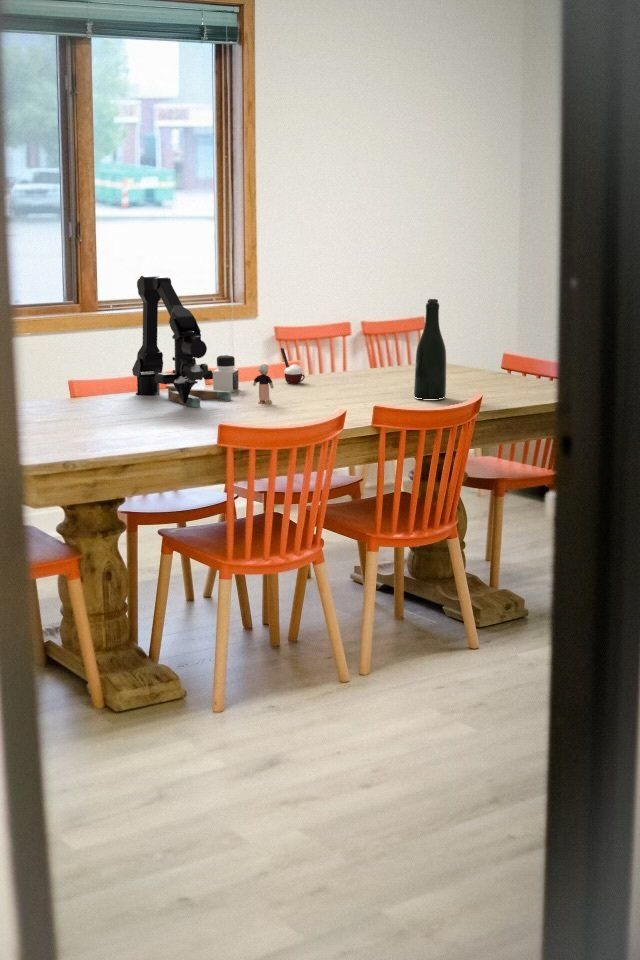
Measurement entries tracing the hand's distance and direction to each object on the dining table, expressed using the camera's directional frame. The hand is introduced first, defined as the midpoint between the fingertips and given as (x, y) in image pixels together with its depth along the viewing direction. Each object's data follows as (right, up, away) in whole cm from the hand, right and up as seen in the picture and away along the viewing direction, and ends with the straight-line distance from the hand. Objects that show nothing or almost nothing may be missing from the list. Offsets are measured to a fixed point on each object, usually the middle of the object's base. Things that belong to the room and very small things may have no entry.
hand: (184, 403), depth 390 cm
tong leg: (-1, 0, +5) cm, 5 cm away
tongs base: (+3, +2, +13) cm, 13 cm away
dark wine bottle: (+80, +2, +17) cm, 82 cm away
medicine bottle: (+11, +6, +30) cm, 32 cm away
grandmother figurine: (+25, 0, +7) cm, 26 cm away
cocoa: (+34, +10, +46) cm, 58 cm away
